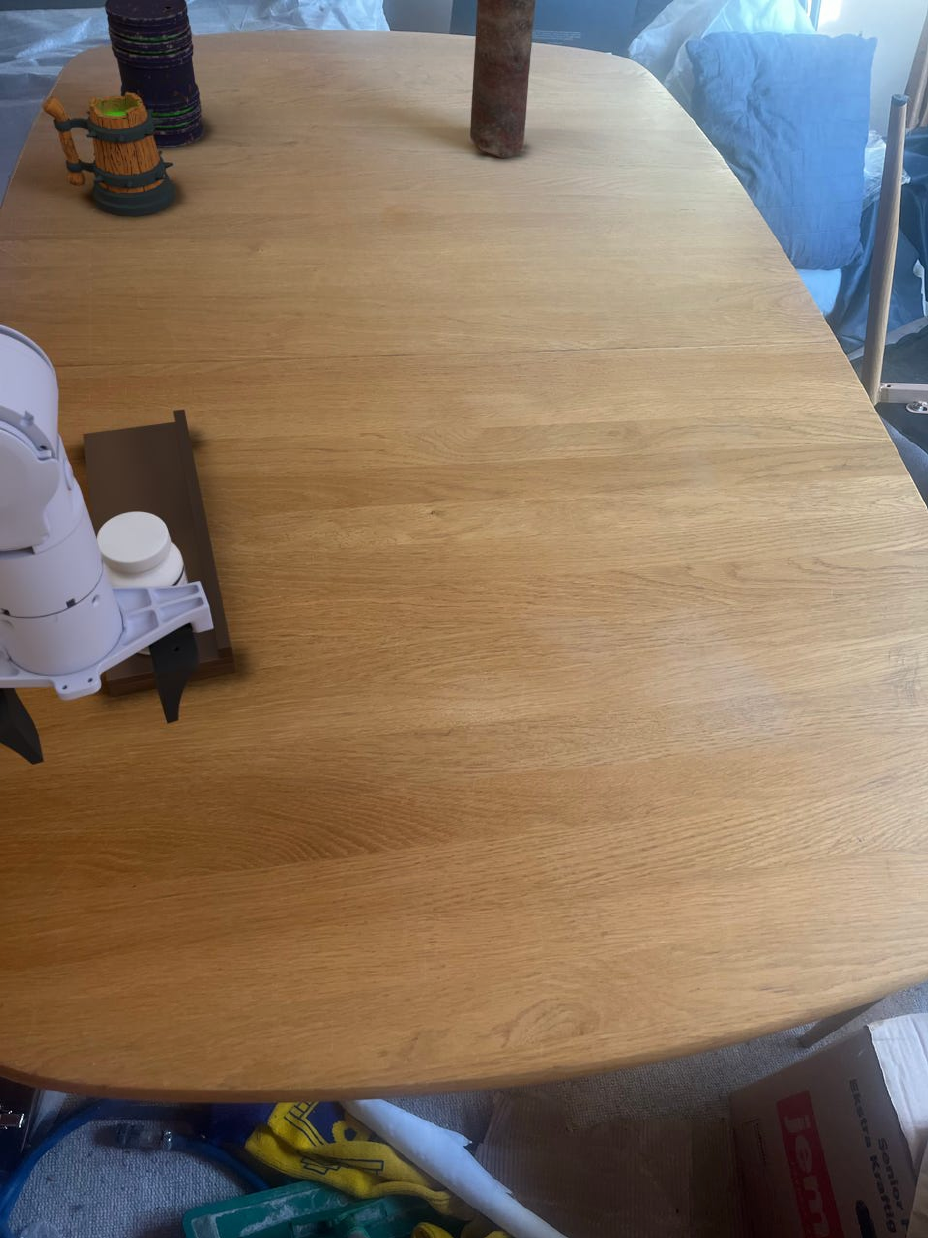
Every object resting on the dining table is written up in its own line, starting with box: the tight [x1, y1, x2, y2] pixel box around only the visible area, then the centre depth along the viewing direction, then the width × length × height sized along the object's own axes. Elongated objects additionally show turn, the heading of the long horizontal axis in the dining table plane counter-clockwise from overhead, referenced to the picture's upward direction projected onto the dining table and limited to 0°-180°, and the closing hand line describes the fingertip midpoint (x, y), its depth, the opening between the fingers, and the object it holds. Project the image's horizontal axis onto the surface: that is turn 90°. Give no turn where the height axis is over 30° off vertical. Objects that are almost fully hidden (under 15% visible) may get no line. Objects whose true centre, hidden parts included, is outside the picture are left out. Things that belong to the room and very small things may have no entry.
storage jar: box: [104, 0, 205, 148], centre depth 122 cm, size 10×10×15 cm
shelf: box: [82, 409, 237, 698], centre depth 78 cm, size 9×28×3 cm, turn 17°
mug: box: [41, 92, 177, 217], centre depth 112 cm, size 13×10×12 cm
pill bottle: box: [97, 512, 194, 655], centre depth 68 cm, size 6×6×10 cm
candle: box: [469, 0, 536, 159], centre depth 124 cm, size 8×7×20 cm
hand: (103, 729), depth 56 cm, fingers open, 7 cm apart
